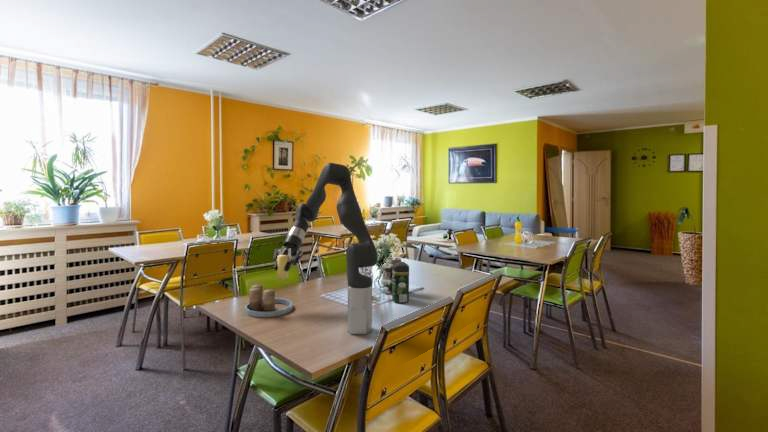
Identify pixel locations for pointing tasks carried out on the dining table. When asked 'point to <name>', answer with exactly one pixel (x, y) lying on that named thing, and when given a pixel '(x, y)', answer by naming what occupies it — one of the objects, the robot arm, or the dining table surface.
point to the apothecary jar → (388, 274)
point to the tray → (270, 313)
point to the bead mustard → (282, 266)
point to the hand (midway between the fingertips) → (280, 269)
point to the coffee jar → (400, 282)
